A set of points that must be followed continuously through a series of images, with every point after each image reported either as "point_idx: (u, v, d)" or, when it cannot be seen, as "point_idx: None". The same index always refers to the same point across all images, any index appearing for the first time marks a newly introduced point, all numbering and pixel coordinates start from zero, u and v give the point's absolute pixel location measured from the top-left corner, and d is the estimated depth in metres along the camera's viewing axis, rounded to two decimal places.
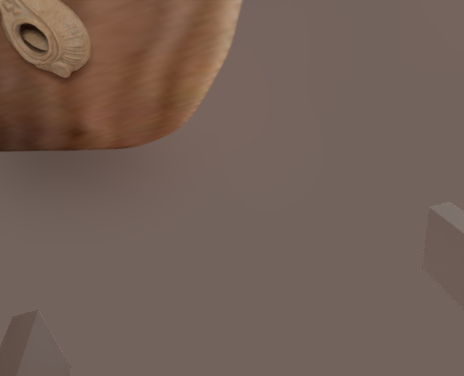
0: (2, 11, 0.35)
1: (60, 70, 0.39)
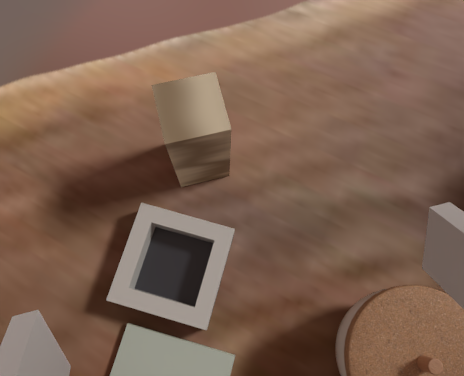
0: None
1: None
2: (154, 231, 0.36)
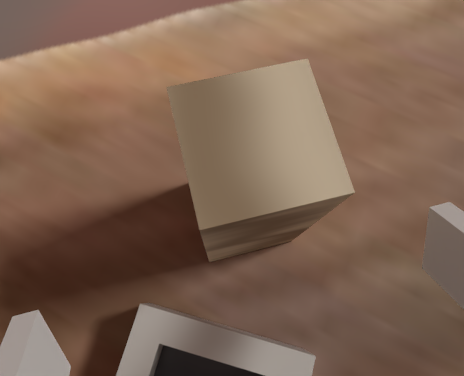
0: None
1: None
2: (163, 348, 0.20)
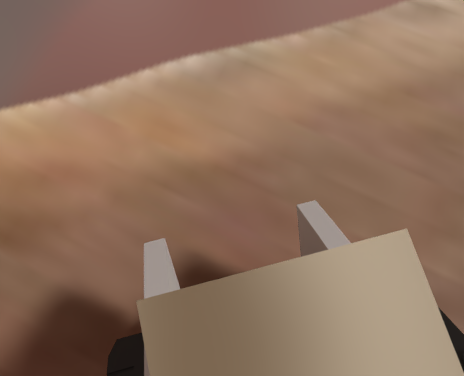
0: None
1: None
2: None
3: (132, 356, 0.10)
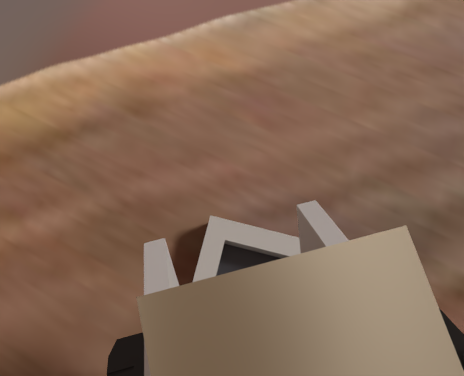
0: None
1: None
2: (223, 249, 0.30)
3: (132, 356, 0.10)
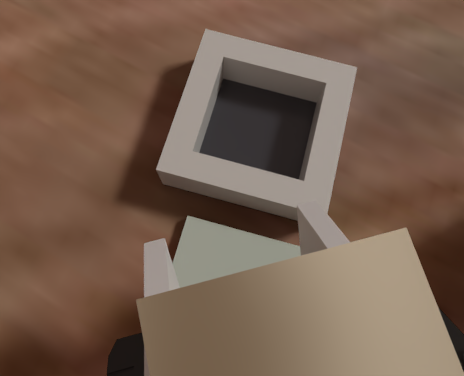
0: None
1: None
2: (222, 84, 0.23)
3: (132, 356, 0.10)
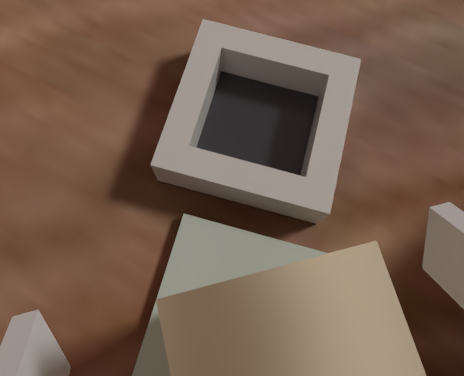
0: None
1: None
2: (220, 77, 0.22)
3: None
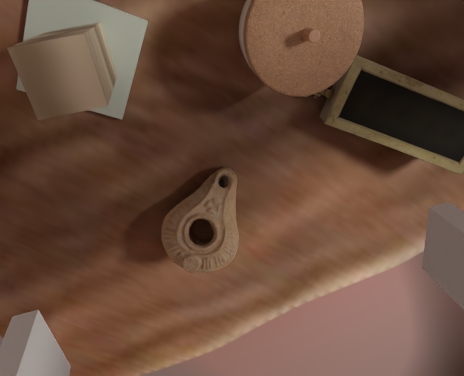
0: (201, 203, 0.42)
1: (191, 264, 0.42)
2: None
3: None
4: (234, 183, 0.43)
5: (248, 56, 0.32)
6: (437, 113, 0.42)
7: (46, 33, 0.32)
